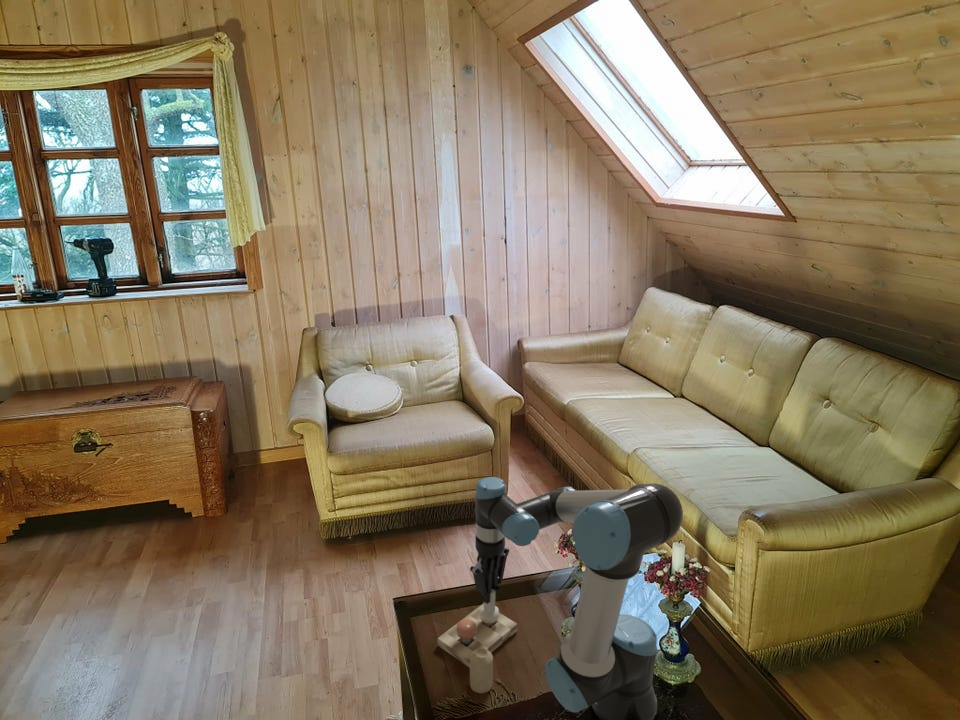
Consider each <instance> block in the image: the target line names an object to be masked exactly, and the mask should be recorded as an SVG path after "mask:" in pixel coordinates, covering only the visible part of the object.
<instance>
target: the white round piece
mask: <svg viewBox="0 0 960 720" xmlns="http://www.w3.org/2000/svg"><path fill="white" fill-rule="evenodd" d="M499 613H500V610H499V607H498V606H496V605H495V611H494V612H493V613H492V614H491V613H490V612H488V611H486V610H485V609H484V606H482V607H481V609H480V619H481V620H482V621H483V622H485V626H487V627H489V628H491V627H492V626H494V622H496V621H497V620H498V618H499Z"/></svg>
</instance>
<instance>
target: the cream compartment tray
mask: <svg viewBox="0 0 960 720" xmlns="http://www.w3.org/2000/svg"><path fill="white" fill-rule="evenodd" d="M482 606H484V602H483V603H482V604H481V605H480V606H479V605H478V607H477V608H475V609H474V610H473V611H471V612H470V613H469V614H467V615H466V616H465V617H463V618H462V619H461V620H464V619H469V620H472V621H474V622H475V624H476V635H475V636H474V637H473V638H471V642H470V643H469V644H468V646H466V645H465V644H463V643H462V638H460V637H458V635H457V623H456V624H454V625H453V626H452V627H450V628H449V629H448V630H446V631H445V632H443V634H441V635H440V636H439V637H437V646H438V647H439V648H441V649H442V650H443V651H445V652H447V654H449V655H451V656H452V657H453V658H455V659H457V660H458V661H459V662H461V664H463V665H465V666H466V667H468V668H469V669H470V655H471V653H472V652H473V651H475V650H477V649H480V648H484V649H486V650H488V651H489V652H490V653H491V654H492V653H493V652H494V651H495V650H496V649H498V648H499V647H500V646H501V645H503V644H504V642H507V640H508V639H510V637H512V636H513V635H514V634H515V633H517V632H518V623H517V622H515V621H513V620H512V619H510V618H509V617H507V616H505V615H503V614H502V613H501V612H499V618H498V620H497V621H496V622H494V626H492V627H491V628H489V627H487V626H485V622H483V621H482V620H481V619H480V609H481V607H482Z"/></svg>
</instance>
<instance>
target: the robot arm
mask: <svg viewBox="0 0 960 720" xmlns="http://www.w3.org/2000/svg"><path fill="white" fill-rule="evenodd" d="M475 486H476V487H475V494H474V495H475V496H474V498H475V499H474V503H475V506H474V507H475V550H476V551H477V557H476V563H475V565H474V566H473V565H471V566H470V568H469V570H470V572H471V573H472V576H473V580H474V583H475V588H476V589H475V590H476V592H477V593H479V594H480V595H482V602H483V603H484V609H485V610H486V611H488V612H490V613H491V614H492V613H493V612H494V611H495V606H496V598H497V592H499V591H500V590H501V587H500V586H499V585H501V584H502V583H503V580H504V575H505V568H506V563H507V559H508V558H507V557H508V555H509V553H510V549H509V548H508V547H506V539H507V540H509V541H511V542H512V543H513V544H515V545H516V546H518V547H526V546H528V545H530V544H532V541H535V540H536V538H537V537H538V535H539V533H540V531H541V530H542V529H545V528H547V527H550V526H553V525H555V524H558V523H559V524H560V523H565V524H566V523H567V524H568V523H571V524H573V525H572V540H573V541H575V544H573V545H574V549H575V551H576V553H577V556H578V558H580V559H579V560H581V562H582V563H583V564H584V567H585V568H584V572H583V576H582V577H583V578H582V581H581V582H582V583H581V586H580V591H579V596H578V599H577V600H578V601H577V605H576V608H575V613H574V617H573V618H574V619H573V623H572V628H571V630H570V631H571V632H570V633H568V634H567V635H566V636H565V637H564V638H563V640H562V642H561V644H560V648H559V654H558V655H557V656H555V657H551V658H550V659H549V660H547V662H546V663H545V667H544V671H545V677H546V681H547V682H548V683H547V684H548V685H549V687H550V691H552V693H553V695H554V696H555V699H557V701H558V702H559V704H560V705H561V706H562V707H563V708H564V709H565V710H567V711H569V712H572V713H579V712H581V711H582V710H585V709H586V710H587V709H588V708H589V707H590V706H591V707H592V710H593V712H594V714H595V716H596V717H597V716H598V717H599V718H600V719H602V720H653V719H654V717H655V715H656V716H657V711H658V710H657V709H658V700H657V699H658V698H657V696H656V694H655V689H654V686H653V678H654V671H655V664H656V655H657V651H658V645H657V644H658V642H657V641H658V640H657V639H658V638H657V633H656V632H655V630H654V629H653V627H652V626H651V625H650V624H649V623H648V622H646V621H645V620H643V619H641V618H639V617H637V616H632V615H629V614H621V609H622V605H623V602H624V598H625V594H626V590H627V587H628V583H629V580H630V579H633V578H634V577H635V576H636V575H637V574H638V573H639V571H640V568H641V565H642V563H643V558H644V555H645V553H646V552H648V551H651V550H652V549H655V548H657V547H659V546H661V545H664V544H666V543H667V542H670V540H672V539H673V538H674V537H675V536H676V535H677V534H678V532H679V530H680V528H681V527H682V524H683V519H684V510H683V506H682V503H681V501H680V498H679V497H678V495H677V494H676V493H675V492H674V491H673V490H672V489H671V488H669V487H668V486H665V485H663V484H659V483H639V484H635V485H632V486H630V487H629V488H628V489H595V490H594V489H592V490H590V489H589V490H588V489H587V490H586V489H585V490H577V489H574V488H573V487H572V486H565V487H559V488H555V489H554V490H551V491H549V492H547V493H544V494H541V495H538V496H535V497H532V498H530V499H527V500H524V501H522V502H519V503H517V502H515V501H513V499H512V498H511V497H509V496H508V495H507V492H508V490H507V484H506V482H505V481H504V480H503V479H502V478H499V477H496V476H487V477H485V478H481V479H480V480H479V481H477V484H476V485H475ZM598 717H597V718H598ZM599 718H598V719H599ZM655 718H656V717H655ZM600 719H599V720H600ZM654 720H655V719H654Z"/></svg>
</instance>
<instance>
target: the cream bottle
mask: <svg viewBox="0 0 960 720" xmlns="http://www.w3.org/2000/svg"><path fill="white" fill-rule="evenodd" d="M493 667H494V656H493V654H492V653H490V652H489V651H488V650H486V649H484V648H480V649H477V650H475V651H473V652H472V653H471V655H470V668H469V686H470V688H471V690H472V691H473V692H475V693H478V694H486V693H488V692H489V691H491V689H492V687H493V681H494V680H493V679H494V677H493V676H494V675H493V674H494V669H493Z"/></svg>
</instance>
